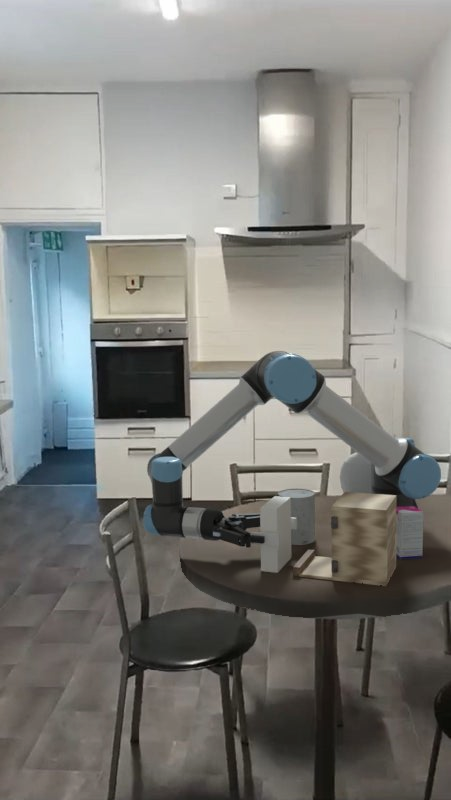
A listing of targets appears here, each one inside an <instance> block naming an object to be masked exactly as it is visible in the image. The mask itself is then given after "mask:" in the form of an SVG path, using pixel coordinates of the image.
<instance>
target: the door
mask: <svg viewBox="0 0 451 800" xmlns="http://www.w3.org/2000/svg"><path fill="white" fill-rule="evenodd" d="M259 513H260V527H259V529H260V530H258V531H257V532H264V533H275V534H280V546H269V545H260V572H266V573H267V572H269V573H279V572H280V571H281V570H282V569H283V567H285V566H286V564H287V563H288V562H289V561H290V560H291V559H292V545H291V497H279V496H277V495H275V496H273V497H272V498H270V499H269V500H268V501H267V502H266V503H264V504H263V505H262V506H260V508H259Z"/></svg>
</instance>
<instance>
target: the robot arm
mask: <svg viewBox="0 0 451 800" xmlns="http://www.w3.org/2000/svg"><path fill="white" fill-rule="evenodd" d="M272 399H276V400H277V401H279V402H280V403H281V404H282V405H285V407H287V408H288V409H289V410H291V411H292V412H294V413H295V414H299V415H300V414H303V413H304V414H307V416H309V417H310V418H311V419H313V420H314V421H316V422H317V423H318V424H320V425H321V426H322V427H324V428H325V429H326V430H328V432H330V433H331V434H333V435H334V436H335V437H337V438H338V439H339V440H341V441H342V442H343V443H345V444H346V445H347V446H348V447H350V448H351V449H353V450H354V451H355V452H358V453H359V454H361V455H362V456H363V457H365V458H366V459H367V460H369V461H370V462H371V494H384V495H396V507H406V506H415V507H416V508H418V509H419V510H420V508H419V505H418V501H417V500H421V499H425V498H428V497H430V496H431V495H432V494H434V492H435V491H436V490H437V489H438V487H439V485H440V484H441V479H442V471H441V467H440V464H439V462H438V461H437V460H436V459H435V458H434V457H433V456H431V455H429V454H427V453H424V452H423V451H422V450H420V449H419V448H418V447H416V443H415V440H414V438H412V437H411V438H410V437H394V436H393V435H391V434H389V433H388V432H387V431H386V430H384V429H383V428H382V427H381V426H380V425H378V424H376V422H374V421H373V420H372V419H369V418H370V417H368V416H366V415H365V414H364V413H362V412H361V411H360V410H359V409H357V408H356V407H354V406H353V405H352V404H350V403H349V401H347V400H346V399H344V398H343V397H341V396H340V395H339V394H338V393H337V392H335V391H334V390H332V389H331V388H330V387H329V386H327V383H326V376H324V375H323V374H322V373H320V372H319V371H318V370H317V369H315V368H314V367H313V365H312V364H311V363H310V362H309V361H308V360H307V359H306V358H304V357H303V356H302V355H299V354H296V353H289V352H286V351H284V350H275V351H271V352H268V353H266V354H265V355H263V356H262V357H261V358H259V359H258V360H257V361H256V362H255V363H254V364H253V365H252V366H251V367H249V369H248V370H247V371H246V372H245V373H244V374H242V375H241V376H240V377H239V382H238V384H237V385H236V386H235V387H233V388H232V389H231V390H230V391H229V392H228V393H227V394H225V396H223V397H222V398H221V399H220V400H219V401H217V403H216V404H214V405H213V406H212V407H211V408H210V409H209V410H208V411H206V412H205V413H204V414H203V415H202V416H201V417H199V418H198V420H196V421H195V422H194V423H193V424H192V425H191V426H189V427H188V428H187V429H186V430H185V431H184V432H183V433H182V434H181V435H179V436H178V438H176V439H175V440H173V441H172V442H171V443H170V445H168V446H167V447H166V448H165V449H163V450H162V451H161V452H159V453H156V454H153V455H152V456H151V457H150V458H149V459H148V462H147V466H146V467H147V468H146V469H147V471H146V472H147V475H148V477H149V479H150V483H151V489H152V490H151V491H152V503H151V504H148V505H147V506H146V508H145V510H144V511H143V518H142V525H143V528H144V530H145V531H146V532H147V533H148V534H149V535H156V536H161V537H173V538H174V537H176V538H184V539H192V541H196V540H205V541H211V542H212V541H214V542H218V541H223V542H227V543H229V544H232V545H236V546H237V547H238V546H239V547H245V548H247V549H248V548H251V547H252V545H258V546H259V545H260V546H261V545H269V546H280V534H275V533H264V532H258V531H251V532H249V531H247V530H248V529H252V528H260V512H256V513H255V512H254V513H234V512H233V513H232V514H231V515H230V516H228V517H226V516H224V513H223V511H222V510H221V509H215V508H214V509H213V508H204V507H193V506H192V507H190V506H184V497H183V496H184V495H183V492H184V491H183V474H184V471H185V470H186V469H187V468H189V466H190V465H191V464H193V463H194V462H195V461H196V460H198V459H199V457H201V456H203V454H204V453H205V452H207V451H208V450H209V449H210V448H211V447H213V445H215V444H216V443H217V442H218V441H219V440H220V439H221V438H222V437H224V436H225V435H226V434H227V433H228V432H229V431H230V430H232V429H233V428H234V427H235V426H236V425H237V424H239V423H240V422H241V420H243V419H244V418H245V417H247V415H248V414H250V413H251V412H252V411H253V410H254V409H255V408H256V407H257V406H264V405H266V404H268V402H269V401H270V400H272ZM291 529H297V518H294V517H291Z"/></svg>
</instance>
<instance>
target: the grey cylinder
mask: <svg viewBox="0 0 451 800" xmlns="http://www.w3.org/2000/svg"><path fill="white" fill-rule="evenodd" d="M277 495H278V496H279V497H291V517H294V518H297V529H291V546H302V545H303V546H305V545H308V544H309V545H310V544H312V543H315V541H316V523H315V522H316V517H315V516H316V515H315V514H316V512H315V506H316V505H315V502H316V499H315V496H316V492H315V491H313V490H311V489H306V488H287V489H283V490H279V491H278V492H277Z"/></svg>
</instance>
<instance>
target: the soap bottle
mask: <svg viewBox="0 0 451 800" xmlns="http://www.w3.org/2000/svg"><path fill="white" fill-rule="evenodd" d="M368 418H369V419H370V418H371V417H368ZM370 420H371V419H370ZM339 482H340V488H341V491H342V494H343V493H344V492H355V493H369V494H371V462H370V461H369V460H367V459H366V458H365V457H363V456H362V455H361V454H359V453H358V452H357V451H355V452H354V453H352V454H350V455H348V457H346V458H345V460H343V463H342V465H341V467H340V474H339Z"/></svg>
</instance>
